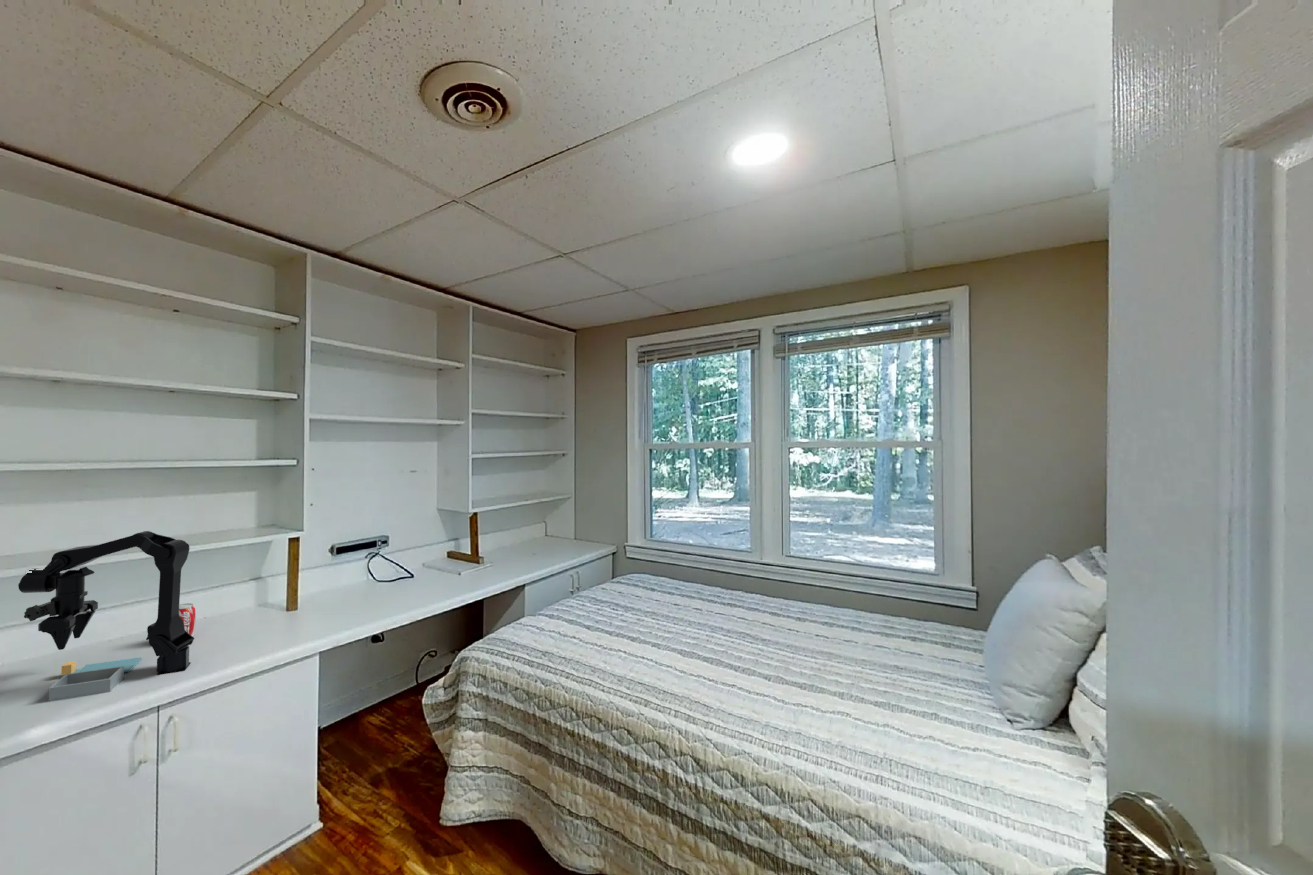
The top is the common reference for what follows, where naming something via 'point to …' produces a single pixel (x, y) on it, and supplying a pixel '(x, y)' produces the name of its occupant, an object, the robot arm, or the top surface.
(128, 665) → the lid
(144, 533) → the robot arm
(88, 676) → the tub
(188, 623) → the soda can
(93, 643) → the top surface
